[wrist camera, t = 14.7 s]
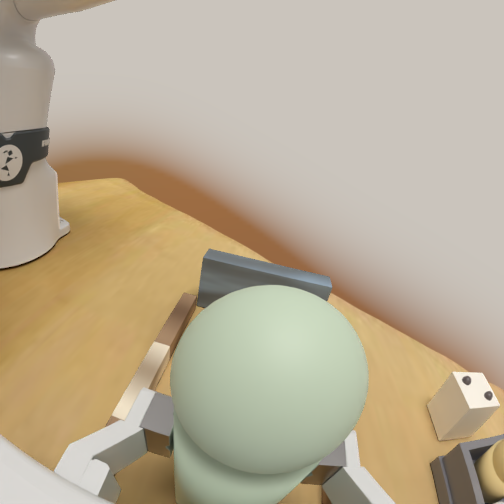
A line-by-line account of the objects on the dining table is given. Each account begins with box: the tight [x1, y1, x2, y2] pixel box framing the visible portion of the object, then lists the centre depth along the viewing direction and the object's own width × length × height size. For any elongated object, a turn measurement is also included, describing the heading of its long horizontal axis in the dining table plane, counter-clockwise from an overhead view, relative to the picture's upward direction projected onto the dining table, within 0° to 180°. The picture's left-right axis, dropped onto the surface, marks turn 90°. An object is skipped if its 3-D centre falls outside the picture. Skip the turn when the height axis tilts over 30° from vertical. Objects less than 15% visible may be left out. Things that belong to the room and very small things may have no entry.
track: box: [105, 249, 332, 504], centre depth 17 cm, size 24×14×5 cm, turn 173°
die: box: [427, 372, 500, 441], centre depth 16 cm, size 4×4×4 cm
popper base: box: [430, 434, 504, 504], centre depth 9 cm, size 7×7×3 cm
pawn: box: [170, 285, 368, 504], centre depth 8 cm, size 5×5×13 cm
